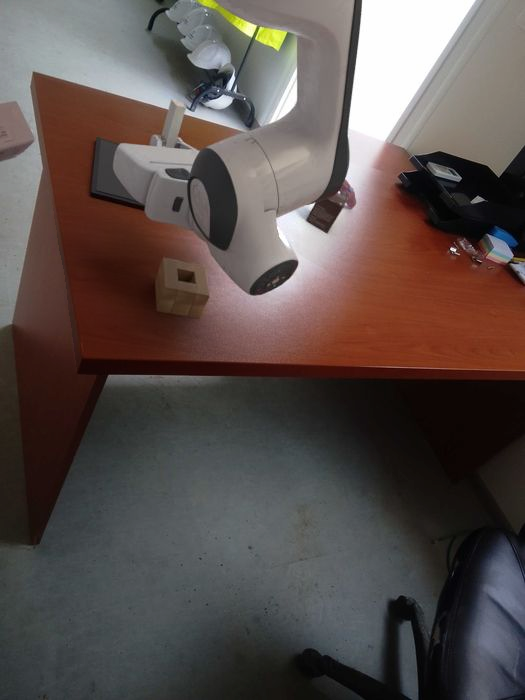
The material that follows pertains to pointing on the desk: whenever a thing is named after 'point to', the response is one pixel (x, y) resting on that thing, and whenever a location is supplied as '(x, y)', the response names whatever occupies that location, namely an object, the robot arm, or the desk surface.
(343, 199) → the box
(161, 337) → the desk surface
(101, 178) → the plate
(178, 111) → the white square bar
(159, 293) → the pen stand
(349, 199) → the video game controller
